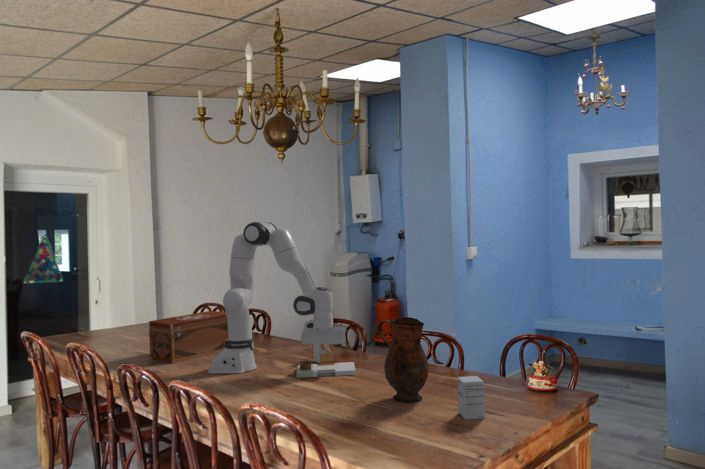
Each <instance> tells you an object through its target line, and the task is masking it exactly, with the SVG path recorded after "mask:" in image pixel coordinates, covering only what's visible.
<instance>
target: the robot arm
mask: <svg viewBox="0 0 705 469" xmlns="http://www.w3.org/2000/svg"><path fill="white" fill-rule="evenodd" d="M232 242H233V243H232V248H231V254H230V260H229V261H230V263H229V271H228V272H229V282H230V286H229V288H230V289H228V290H227V291H226V292H225V294H224V295H223V298H222V302H223V303H222V304H223V307H224V312H226V317H227V323H228V339H226V340H225V341H224V347H225V348H224V349H223V350H222V351H220V352H219V353H216V355H214V357H213V361H212V365H211V366H210V367H208V369H207V373H208V374H243V373H245V372H250V371H253V370H256V369H257V368H258V367H257V363H256V361H255V360H256V359H255V355H254V347H255V346H254V338H253V331H252V330H253V328H252V326H253V325H252V320H251V316H250V310H249V306H250V305H251V304H252V302H253V300H254V266H255V255H256V249H257V248H258V247H263V246H267V245H268V246H269V247H270V248H271V251H272V252H273V256H274V259H275V261H276V263H277V266H279V268H280V269H281V270H282V271H284V272H287V273H289V274H291V275H292V276H294V278H295V279H296V280H297V282H298V285H299V287H300V289H301V291H302V294H301V295H298V296H297V297H295V299H294V300H293V303H292V304H293V310H294V312H295V314H297V315H299V316H303V317H304V316H306V317H307V316H310V315H312V316H313V319H310V320H306V321H305V322H304V323H303V328H302V331H301V337H300V342H301V344H302V345H313V344H318V348H319V350H320V354H327V349H328V347H329V344H333V345H344V344H346V340H347V339H346V333H347V326H346V324H344V323H342V322H340V323H337V322H334V315H333V314H334V313H333V309H334V298H333V292H332V290H331V289H330V288H328V287H323V286H322V287H321V286H317V287H316V286H315V283H314V281H313V279H312V277H311V275H310V273H309V271H308V268H307V266H306V264H305V263H304V262H303V259H302V257H301V255H300V251H299V249H298V246H297V244H296V242H295V240H294V238H293V236H292V235H291V233H290V231H289V230H288V229H287V228H278V227H277V226H276V225H275V224H273V223H272V222H268V221H261V220H259V221H252V222H250V223H248V224H247V225H246V226H244V229H243V232H242V233H241V234H238V235H236V236H235V237H234V241H232ZM321 344H326V349H324V350H322V349H321Z"/></svg>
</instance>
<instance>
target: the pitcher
mask: <svg viewBox="0 0 705 469" xmlns="http://www.w3.org/2000/svg"><path fill="white" fill-rule="evenodd" d="M385 323H389V324H390V327H391V341H390V340H389V339H388V338H387V337H386V336H385V334H384V332H383V326H384V324H385ZM424 326H425V322H422V321H420V320H419V319H417V318H415V317H405V316H403V317H397V318H393V319H385V320H382V321H381V322H379V323H378V326H377V333H378V334H379V336H380V337H381V339H382V340H383V341H384V343H385V344H386V346H387V347H388V352H387V354H386V357H385V362H384V366H383V368H384V369H383V371H384V375H385V379H386V380H387V382H388V384H389V386H391V388H392V389H393V390H394V391H395V392H396V393H395V394H394V395H393V400H395V401H397V402H401V403H417V402H420V401H422V400H423V397H422V395H420V394H419V392H420V391H421V390H422V388H423V387H425V384H426V382H427V379H428V377H429V362H428V358H427V356H426V353H425V350H424V348H423V345H422V343H421V340H422V332H423V329H424Z"/></svg>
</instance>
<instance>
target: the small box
mask: <svg viewBox="0 0 705 469" xmlns="http://www.w3.org/2000/svg"><path fill="white" fill-rule="evenodd" d="M312 346H313V352H312V353H313V362H315V363H317V364H323V363H328V362H334V360H335V358H334V354H335V353H334V344H329V347H328V349H327V354H320V350H319V348H318V344H312ZM321 349H322V350H324V349H326V344H321Z"/></svg>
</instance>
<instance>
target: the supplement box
mask: <svg viewBox="0 0 705 469" xmlns="http://www.w3.org/2000/svg"><path fill="white" fill-rule="evenodd" d="M457 394H458V395H457V398H458V399H457V400H458V401H457V402H458V406H457V407H458V413H459V414H460V415H461V417H463V419H464V420H478V419H485V418H486V410H485V409H486V408H485V405H486V404H485V403H486V401H485V382H484V380H483V379H481V377H479V376H478V375H470V376H469V375H468V376H458V377H457Z"/></svg>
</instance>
